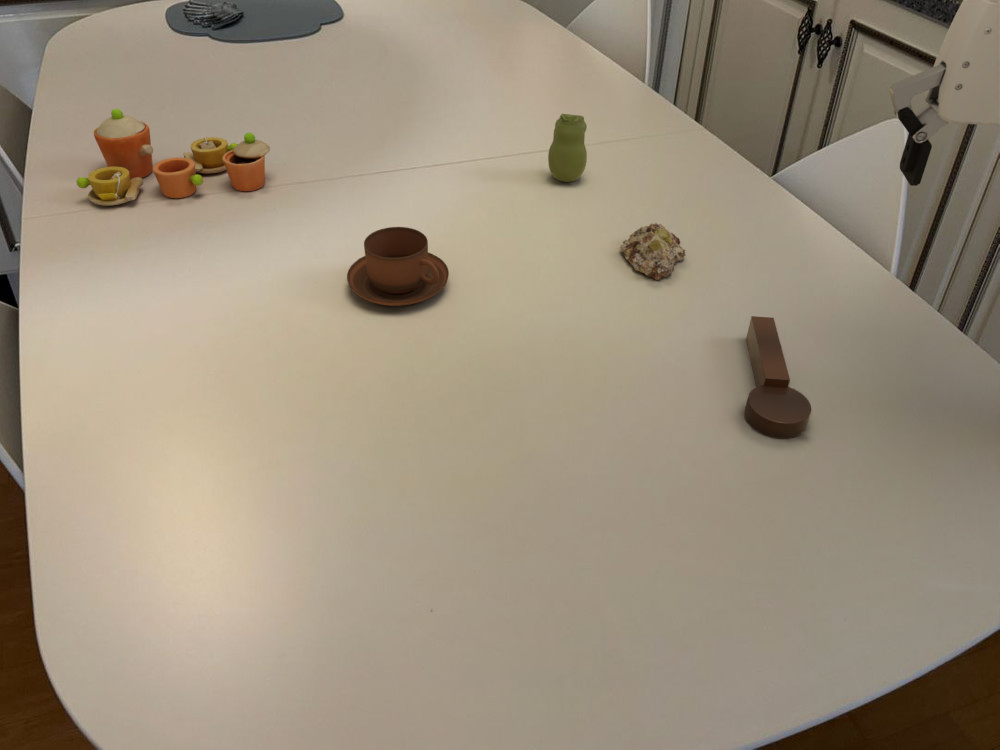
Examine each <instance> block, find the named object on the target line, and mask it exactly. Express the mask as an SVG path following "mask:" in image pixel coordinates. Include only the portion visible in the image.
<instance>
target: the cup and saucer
mask: <svg viewBox="0 0 1000 750" xmlns="http://www.w3.org/2000/svg"><path fill="white" fill-rule="evenodd" d="M363 249H364V250H363V251H364V256H362V257H360V258H358V259H357V260H356V261H354V262H353V264H351V265H350V266H349V268H348V270H347V273H346V280H347V284H348V286H349V288H350V289H351V291H352V292H353V293H354V294H355V295H357V296H359V297H360V298H362V299H363V300H366V301H367V302H370V303H372V304H377V305H379V306H381V305H382V306H387V307H388V306H389V307H402V306H410V305H415V304H418V303H422V302H425V301H426V300H428V299H429V300H430V299H431V298H433V297H434V296H435V295H437V294H438V293H439V292H440V291H442V290H443V289H444V287H445V286H446V285H447V283H448V280H449V275H450V274H449V273H450V272H449V268H448V265H447V264H446V263H445V261H444V260H443V259H442V258H440V257H439V256H437V255H436V254H433V253H431V252H429V241H428V238H427V236H426V235H425V234H424V233H423V232H421V231H420V230H418V229H415V228H411V227H407V226H406V227H405V226H390V227H384V228H380V229H378V230H374V231H372V232H371V233H370V234H368V235H367V237H366V238H365V239H364V241H363Z"/></svg>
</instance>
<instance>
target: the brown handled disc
mask: <svg viewBox="0 0 1000 750" xmlns="http://www.w3.org/2000/svg"><path fill="white" fill-rule="evenodd" d="M745 339H746V343H747V349H748V354H749V357H750V358H749V359H750V362H751V368H752V371H753V376H754V381H755V386H756V387H753V388H752V389H751V390H750V392H749V393H748V396H747V400H746V404H745V407H744V411H743V412H744V418H745V420H746V422H747V423H748V425H749V426H750V427H751V428H752V429H753V430H755V431H756V432H758V433H760V434H761V435H763V436H767V437H769V438H775V439H792V438H796V437H798V436H800V435H802V434H803V433H804V432H805V430H806V429H807V426H808V423H809V419H810V416H811V413H812V406H811V402H810V401H809V400H808V398H807V397H806V396H805V395H804V394H803V393H802V392H800V391H799V390H797V389H795V388H793V387H790V386H789V385H790V382H791V379H790V378H791V377H790V374H789V370H788V366H787V363H786V359H785V355H784V352H783V348H782V345H781V340H780V337H779V332H778V328H777V325H776V321H775V318H774V317H769V316H753V315H751V316H750V321H749V325H748V330H747V333H746V338H745Z"/></svg>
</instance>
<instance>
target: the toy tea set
mask: <svg viewBox="0 0 1000 750" xmlns="http://www.w3.org/2000/svg"><path fill="white" fill-rule="evenodd" d="M93 138H94V140H95V143H96V144H97V146H98V148H99V151H100V153H101V154H102V157H103V159H104V160H105V163H106V165H107V166H105V167H100V168H98V169H94V170H93V171H91V172H90V173H89V174H88V175H87V178H86V177H85V176H79V177H78V178H77V179H76V185H77V187H78V188H80V189H87V188H88V187H89V186H90V187H91V188H92V189H90V190H89V192H88V195H87V197H88V200H89V201H90V202H91V203H92V204H95V205H98V206H118V205H122V204H125V203H129V202H131V201H134V200H136V199H137V198H138V195H139V194H140V188H141V187H143V185H144V179H143V178H145V177H147V176H149V175H151V173H152V172H153V174H154V176H155V179H156V181H157V183H158V185H159V188H160V190H161V193H162V194H163V195H164V196H165V197H167V198H170V199H182V198H187V197H189V196H191V195H194V193H195V192H196V191H197V186H198V187H199V186H201V185H203V183H204V177H203V176H202V175H200V174H216V173H222V172H224V171H226V173H227V175H228V178H229V181H230V183H231V186H232V187H233V189H235V190H236V191H240V192H252V191H253V192H254V191H257V190H259V189H261V188H262V187H263V186H264V185H265V183H266V163H265V162H266V155H268V153H269V152H271V151H270V150H271V148H270V145H269V144H267V143H266V142H264V141H263V140H260V139H256V135H255V134H254V133H252V132H246V133H245V134H244V136H243V139H244V140H242V141H241V142H239V143H236V142H232V143H230V144H229V142H228V140H227V139H225V138H223V137H216V136H211V137H209V136H208V137H206V136H203V137H202V138H200V139H197V140H195V141H193V142H192V143H191V144H190V146H189V148H190V150H191V151H184V152H183V157H181V156H179V157H171V158H170V157H169V158H166V159H162V160H160V161H157V162H156V163H155V164H154V165H153V153H154V148H153V146H152V140H151V130H150V127H149V125H148V124H147V123H146V122H144V121H142V120H140V119H138V118H136V117H133V116H131V115H126V114H123V111H122V110H121V109H119V108H114V109H112V110H111V116H109V117H108V118H106V119H104V121H102V122H101V123H100V124H99V126H98V127H96V128H95V129H94V130H93ZM196 173H199V174H196Z"/></svg>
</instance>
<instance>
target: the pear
mask: <svg viewBox="0 0 1000 750" xmlns="http://www.w3.org/2000/svg"><path fill="white" fill-rule="evenodd" d="M586 131H587V123H586V122H585V118H584V116H583V115H579V114H576V115H575V114H569V113H561V114H560V116H559V117H558V119H557V120H556V121H555V124H554V129H553V135H552V136H553V138H552V142H551V144H550V146H549V149H548V153H547V155H548V156H547V161H548V168H549V171H550V173H551V175H552V176H553V177H554V178H555V179H556V180H558V181H560V182H563V183H564V182H565V183H570V182H574V181H576V180H578V179H579V178H581V176H583V174H584V172H585V169H586V167H587V162H588V161H587V159H588V154H587V153H588V152H587V148H586V146H585V145H586V144H585V139H586V135H585V134H586Z"/></svg>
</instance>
